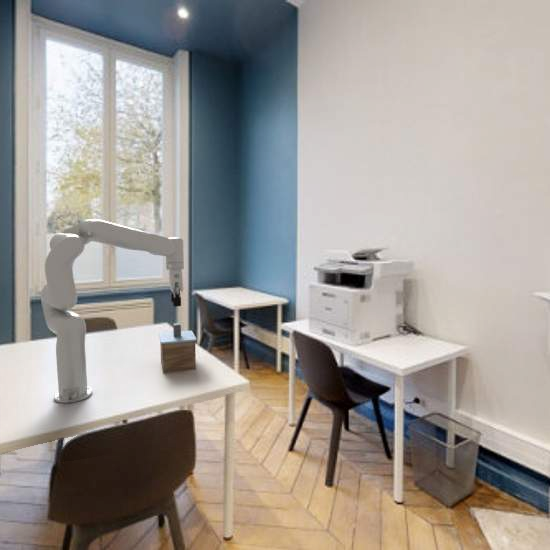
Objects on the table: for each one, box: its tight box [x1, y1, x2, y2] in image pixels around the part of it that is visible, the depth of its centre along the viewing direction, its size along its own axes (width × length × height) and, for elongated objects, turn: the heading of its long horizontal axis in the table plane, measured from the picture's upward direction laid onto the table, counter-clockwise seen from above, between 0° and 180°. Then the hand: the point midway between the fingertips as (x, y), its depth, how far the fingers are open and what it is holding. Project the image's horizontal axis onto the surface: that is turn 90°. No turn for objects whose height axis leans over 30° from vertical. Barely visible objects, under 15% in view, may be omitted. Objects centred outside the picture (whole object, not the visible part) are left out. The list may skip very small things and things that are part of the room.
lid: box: [158, 322, 197, 344], centre depth 176 cm, size 15×15×6 cm
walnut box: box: [160, 341, 197, 374], centre depth 177 cm, size 14×14×13 cm
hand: (176, 303), depth 174 cm, fingers open, 9 cm apart
